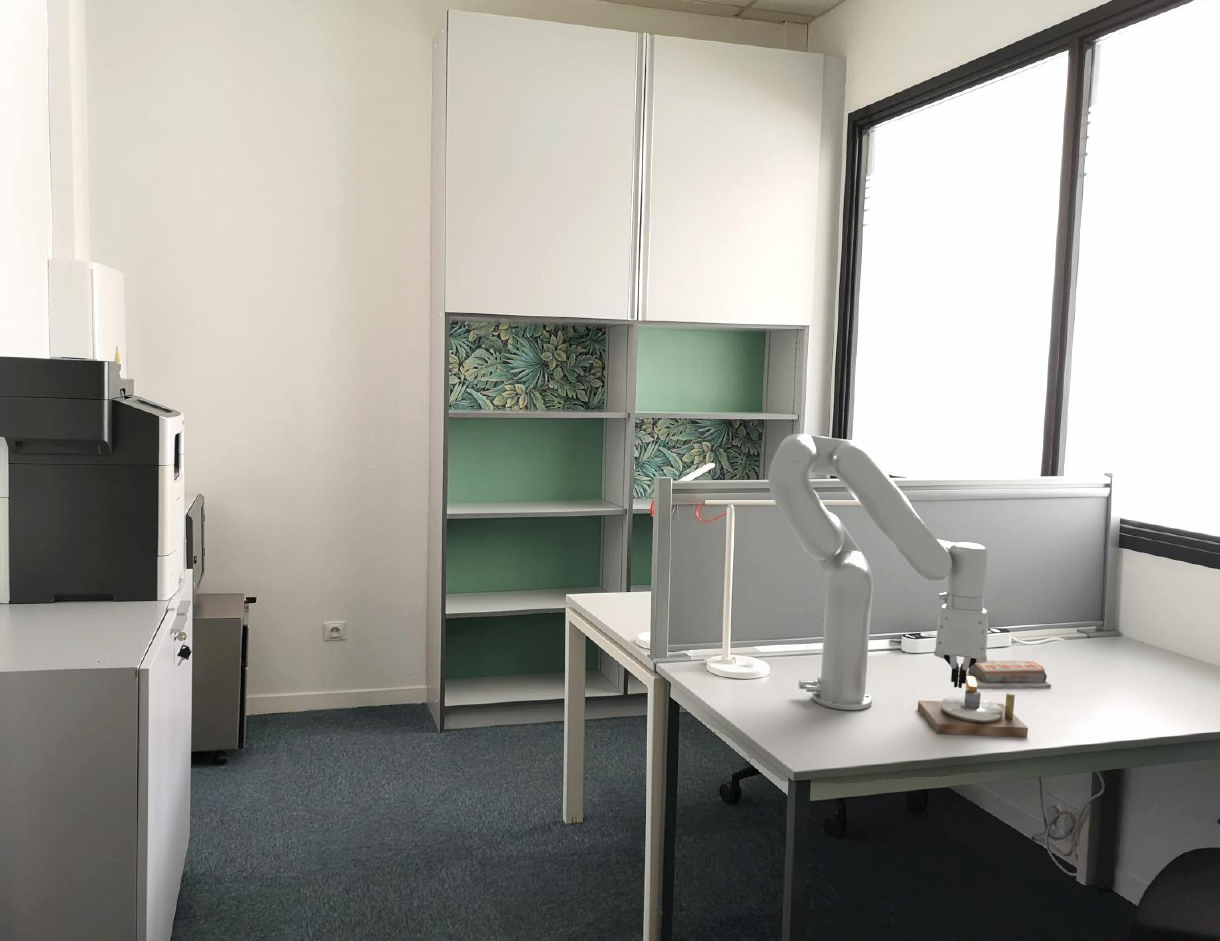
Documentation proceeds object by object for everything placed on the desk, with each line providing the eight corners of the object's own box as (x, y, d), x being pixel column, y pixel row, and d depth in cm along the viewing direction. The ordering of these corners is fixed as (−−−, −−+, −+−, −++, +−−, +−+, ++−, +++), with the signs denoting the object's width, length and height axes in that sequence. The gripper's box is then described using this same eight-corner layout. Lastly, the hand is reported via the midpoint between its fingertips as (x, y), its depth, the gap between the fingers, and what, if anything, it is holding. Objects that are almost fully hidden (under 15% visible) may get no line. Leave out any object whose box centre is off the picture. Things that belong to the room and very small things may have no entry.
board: (937, 733, 209) (939, 699, 208) (917, 709, 222) (920, 677, 222) (1027, 737, 208) (1030, 703, 208) (1001, 712, 222) (1004, 681, 221)
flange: (1005, 725, 208) (1007, 700, 207) (942, 718, 211) (944, 693, 210) (998, 703, 221) (1000, 679, 221) (939, 696, 224) (941, 673, 224)
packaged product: (1030, 656, 250) (1053, 669, 240) (1029, 676, 250) (1051, 689, 241) (959, 656, 248) (979, 669, 238) (958, 676, 248) (977, 690, 238)
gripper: (926, 601, 218) (920, 685, 220) (1002, 610, 213) (995, 696, 215) (929, 593, 225) (922, 675, 227) (1002, 602, 220) (995, 686, 222)
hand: (957, 685), depth 221 cm, fingers closed
